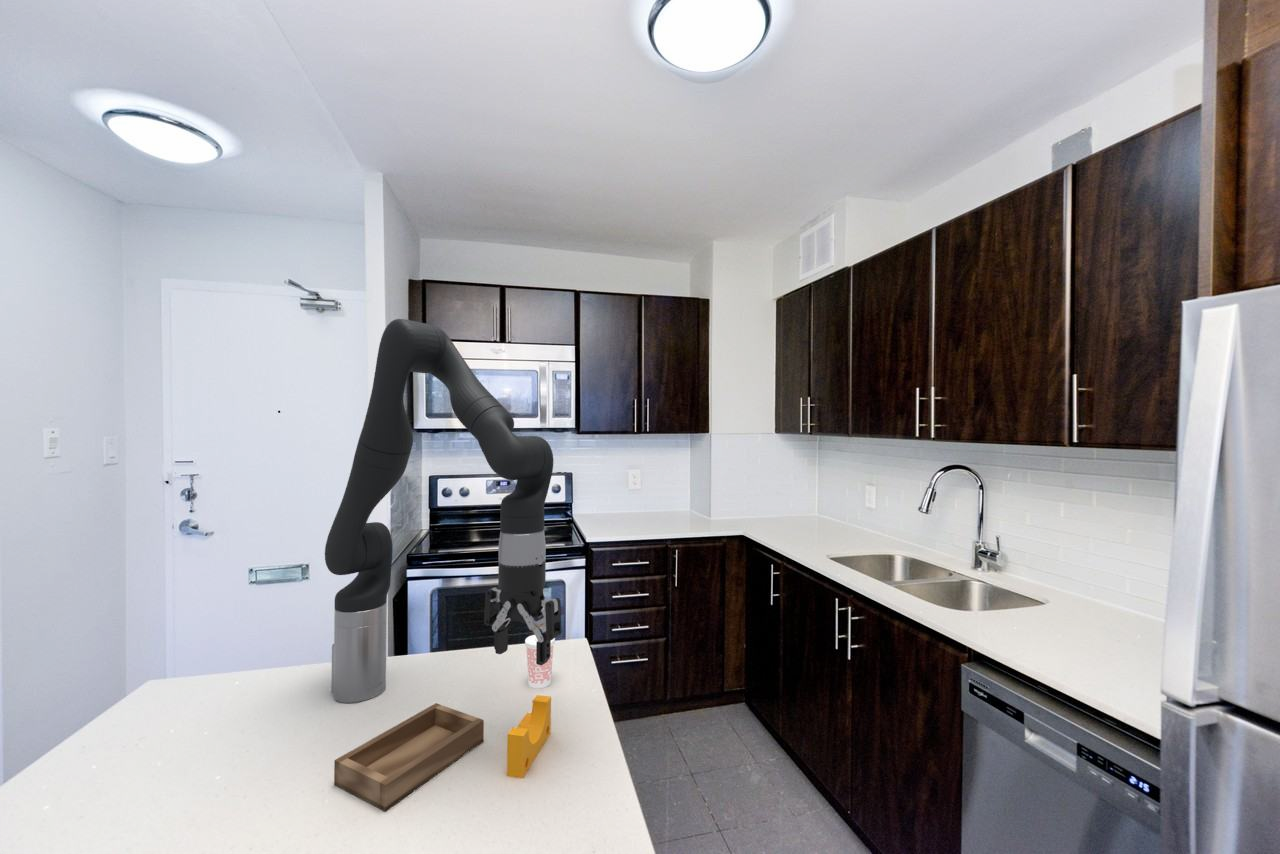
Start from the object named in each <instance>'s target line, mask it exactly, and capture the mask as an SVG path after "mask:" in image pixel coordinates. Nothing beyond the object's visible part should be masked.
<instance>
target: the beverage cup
mask: <svg viewBox="0 0 1280 854" xmlns="http://www.w3.org/2000/svg"><path fill="white" fill-rule="evenodd" d="M540 628H541V627H540ZM541 629H542V628H541ZM537 642H538V640H537V638H536V636H535V634H532V635H529V636H527V637H526V638H525V640H524V643H525V646H526V647H525V648H526V660H527V661H526V665H527V682H528V686H529V687H530V688H532V689H533V688H534V689H542V688H543V689H544V688H546V687H548V685H549V686H550V685H551V683H552V669H553V657H554V645H555V644H556V643H555V642H556V638H554V639H553V640H551V652H550V653H551V655H550V659H549V660H548V661H547V662H546V663H545V664H543V665H537V663H536V643H537Z"/></svg>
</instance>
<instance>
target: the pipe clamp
mask: <svg viewBox="0 0 1280 854" xmlns="http://www.w3.org/2000/svg"><path fill="white" fill-rule="evenodd" d="M531 707H532V708H531V712H526V714H525V715H524V717H522V718H521V720H520V722H519V723H518V726H517V727H515V726H514V727H511V729H510V730H509V732H508V733H507V736H506V737H507V741H506V742H507V743H506V745H507V748H506V749H507V750H506V777H510V778H519V779H524V777H525V776H526V774H527V773H528V771H529V769H530V767H532V764H533V763H534V761H535V759H536V758H537V757H538V754H539V753H540V752H541V750H542V748H543V746H544V744H545V743H546V742H547V740H548V738H549V736H550V735H551V729H552V728H551V727H552V724H551V723H552V696H550V695H549V696H548V695H539V694H537V695H535V697H534V698H533V700H532V706H531Z"/></svg>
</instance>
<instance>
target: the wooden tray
mask: <svg viewBox="0 0 1280 854" xmlns="http://www.w3.org/2000/svg"><path fill="white" fill-rule="evenodd" d="M484 721H485V720H484V719H483V718H480V717H477V716H474V715H471V714H468V713H465V712H462V711H460V710H456V709H454V708H450V707H448V706H446V705H442V704H439V703H436V702H435V703H434V704H432V705H430V706H428V707H426V708H425V709H423V710H421V711H419V712H417V713H416V714H414V715H412V716H410V717H409V718H407V719H405V720H403V721H402V722H401V721H400V723H398V724H396V725H394V726H393V727H391V728H389V729H388V730H386V731H383V732H382V733H380V734H378V735H377V736H375V737H373V738H372V739H369V740H368V741H366V742H364V743H362V744H361V745H359V746H358V747H355V748H354V749H352V750H350V751H348V752H347V753H345V754H343V755H341V756H339V757H337V758H336V759H334V760H333V761H334V766H333V767H334V768H333V769H334V771H333V772H334V773H333V779H334V780H333V781H334V782H333V785H334V786H335V787H338V788H339V789H341V790H343V791H345V792H347V793H349V794H351V795H353V796H355V797H357V798H359V799H360V800H362V801H364V802H366V803H368V804H370V805H371V806H374V807H376V808H378V809H380V810H382V811H383V812H387V811H389V810H390V809H391V808H393V807H394V806H395V805H397V804H399V803H400V802H402V800H403V799H405V798H406V797H408V796H409V795H411V794H412V793H413V792H415V791H416V790H418V789H419V788H420V787H422V786H423V785H425V784H426V783H428V782H429V781H430V780H431V779H434V777H436V776H437V775H439V774H440V773H441V772H443V771H444V770H445V768H446V767H447V768H449V767H450V766H451V765H453V764H454V763H455V762H457V761H458V760H460V759H461V758H463V757H464V756H465V755H466V754H465V753H467V752H468V751H469V752H471V751H472V750H473V749H472V748H474V747H475V748H476V747H478V746H480V745H481V744H482V743H483V742H484V741H485V740H484V738H485V737H484V734H485V733H484V729H485V727H484V726H485V724H484V723H485V722H484ZM481 742H482V743H481ZM480 743H481V744H480ZM477 745H478V746H477ZM475 748H474V749H475ZM471 749H472V750H471ZM470 750H471V751H470ZM469 752H468V753H469ZM468 753H467V754H468ZM464 754H465V755H464ZM463 755H464V756H463ZM460 757H461V758H460ZM459 758H460V759H459ZM457 759H458V760H457ZM456 760H457V761H456ZM453 762H454V763H453ZM452 763H453V764H452ZM450 764H451V765H450ZM449 765H450V766H449ZM447 768H446V769H447ZM442 770H443V771H442ZM439 772H440V773H439ZM438 773H439V774H438ZM435 775H436V776H435ZM417 788H418V789H417ZM414 790H415V791H414Z"/></svg>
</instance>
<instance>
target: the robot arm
mask: <svg viewBox="0 0 1280 854" xmlns="http://www.w3.org/2000/svg"><path fill="white" fill-rule="evenodd" d="M377 350H378V351H377V357H376V362H375V364H376V365H375V371H374V376H373V382H372V389H371V393H370V397H369V401H368V407H367V410H366V415H365V417H364V422H363V425H362V429H361V432H360V435H359V438H358V440H357V441H358V442H357V444H356V445H357V446H356V448H355V452H354V456H353V459H352V466H351V470H350V473H349V476H348V480H347V483H346V487H345V489H344V490H345V491H344V493H343V497H342V499H341V502H340V505H339V507H338V509H337V512H336V515H335V517H334V520H333V522H332V525H331V527H330V530H329V532H328V535H327V539H326V542H325V547H324V561H325V565H326V567H327V569H328V571H329V572H330V573H331V574H333V575H336V576H347V575H352V574H356V573H357V575H356V576H355V577H354V578H353V580H352V581H351V582H349V583H348V584H347V585H345V586H344V587H343V588H341V589H339V591H338V592H336V594H335V596H334V619H333V620H334V627H333V628H334V629H333V630H334V633H333V635H334V636H333V641H334V642H333V644H332V645H331V682H330V684H331V687H330V688H331V689H330V690H331V691H330V692H331V693H332V695H333V699H334V700H335V701H337V702H339V703H346V704H347V703H358V702H363V701H367V700H369V699H372V698H374V697H377V696H378V695H380V694H381V693H383V692H384V691H385V688H386V687H387V684H386V683H387V680H386V679H387V635H388V634H387V625H388V623H387V620H388V619H387V618H388V615H387V614H388V613H387V612H388V593H389V591H390V588H391V581H392V566H393V565H392V564H393V552H394V551H393V538H392V534H391V531H390V530H389V528H388V526H386V525H385V524H384V523H382V522H379V521H377V522H376V521H375V522H368V520H369V518H370V516H371V514H372V513H373V511H374V509H375V508H376V507H377V505H379V503H380V502H381V501H382V500H383V499H384V498H385V497H386V496H387V495H388V493H390V492H391V490H392V489H393V488H394V487H395V486H396V484H397V483H398V482H399V481H400V480H401V478H402V477H403V475H404V473H405V472H406V469H407V465H408V462H409V459H410V455H411V452H412V449H413V443H414V435H413V429H412V426H411V423H410V420H409V416H408V413H407V412H406V409H405V402H404V401H405V400H404V398H405V396H404V395H405V389H406V386H407V381H408V377H409V375H410V373H417V374H418V373H421V374H430V375H432V376H433V377H435V378H436V379H437V380H438V381H440V382H441V383H442V384H444V386H445V387H446V388H447V390H448V394H449V400H450V405H451V409H452V410H453V413H454V415H455V416H456V418H457V420H458V421H459V422H460V423H461V425H463V426H464V427H465V428H466V429H467V431H468V432H469V433H470V434H471V435H472V436H473V437H474V438H475V439H476V440H477V442H478V445H479V448H480V450H481V452H482V453H483V456H484V458H485V460H486V462H487V464H488V466H489V467H490V468H491V470H492V471H493V473H495V474H496V475H497V476H499V477H501V478H502V479H505V480H507V481H516V484H515V487H514V490H513V491H512V492H510V493H509V494H507V495H505V496H504V497H503V498H502V499H501V502H500V517H499V518H500V520H499V521H500V522H499V523H500V527H499V528H500V529H499V530H500V533H499V540H498V571H497V572H498V573H497V574H498V575H497V577H498V579H497V580H498V582H497V584H498V585H497V586H496V587H493V588H492V587H491V588H490V589H486V590H485V595H484V611H483V613H484V615H483V616H484V618H483V623H484V625H485V626H487V627H488V626H489V627H491V630H492V632H493V647H494V650H495V654H497V655H502V654H504V653H506V652H507V651H508V647H509V646H508V645H509V628H508V625H509V624H510V622H519V623H521V624H525V625H527V627H528V629H529V630H530V631H532V633H533V635H535V636H536V638H537V640H538V642H537V643H536V663H537V665H543V664H545V663H546V662H547V661H548V660H549V659H550V655H551V653H550V652H551V640H553V639H554V638H555V639H556V638H558V637H560V636H561V635H562V634H563V627H562V605H561V601H562V600H561V599H560V598H559V597H555V598H552V599H551V598H546V597H545V595H544V588H545V585H546V576H547V575H546V573H547V572H546V571H547V569H546V564H547V562H546V558H547V557H546V553H547V552H546V550H547V549H546V548H547V545H546V543H547V542H546V538H545V502H546V500H547V499H546V498H547V496H548V493H549V488H550V484H551V479H552V476H553V470H554V453H553V450H552V447H551V445H550V444H549V442H548V441H547V440H546V439H545V438H543V437H541V436H537V435H523V436H522V435H521V436H520V435H519V436H518V435H516V434H515V433H513V431H514V428H515V421H514V418H513V416H512V415H511V413H510V412H509V411H508V410H507V409H506V408H505V406H504V405H502V403H500V401H499V400H497V399H496V397H495V396H493V395H492V394H491V392H490V391H489V390H488V389H487V388H486V387H485V386H484V385H483V384H482V383H481V381H480V380H479V378H477V376H476V375H475V374H474V372H473V371H472V369H471V368H470V366H469V364H467V362H466V361H465V359H464V357H463V356H462V355H461V353H460V351H459V350H458V348H457V347H456V345H455V344H454V343H453V341H452V340H451V338H450V337H449V335H448V334H447V333H446V332H445V331H444V330H443V329H442V328H440V327H438V326H436V325H433V324H429V323H425V322H419V321H415V320H409V319H405V318H396V319H393V320H392V321H390V322H389V323H388V324H387V325H386V327H385V328H384V330H383V333H382V334H381V337H380V342H379V345H378V349H377ZM501 605H502V608H501ZM535 619H538V620H535ZM540 627H541V628H540Z"/></svg>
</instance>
